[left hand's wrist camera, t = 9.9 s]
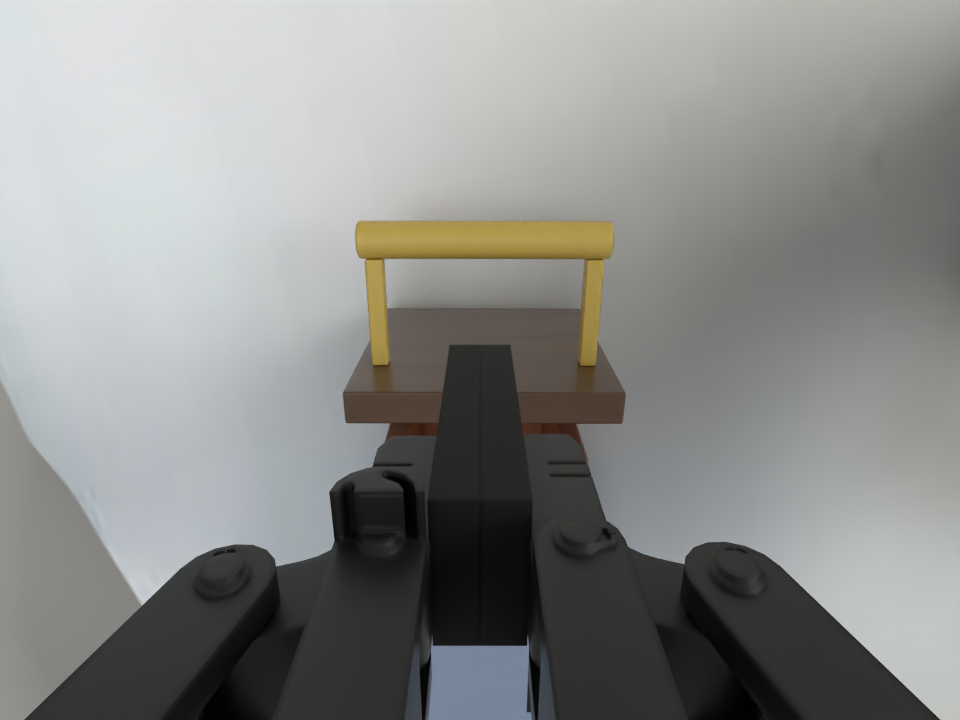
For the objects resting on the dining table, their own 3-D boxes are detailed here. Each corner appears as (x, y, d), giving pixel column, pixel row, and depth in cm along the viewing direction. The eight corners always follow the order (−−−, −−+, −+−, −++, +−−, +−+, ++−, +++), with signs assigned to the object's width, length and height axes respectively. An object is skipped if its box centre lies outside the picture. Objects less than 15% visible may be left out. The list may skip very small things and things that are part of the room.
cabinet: (387, 453, 33) (340, 617, 22) (578, 453, 33) (626, 618, 22) (402, 688, 40) (372, 903, 29) (560, 688, 40) (591, 904, 29)
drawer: (378, 197, 27) (327, 234, 18) (588, 197, 27) (642, 234, 18) (402, 581, 35) (375, 739, 26) (562, 581, 35) (590, 740, 26)
